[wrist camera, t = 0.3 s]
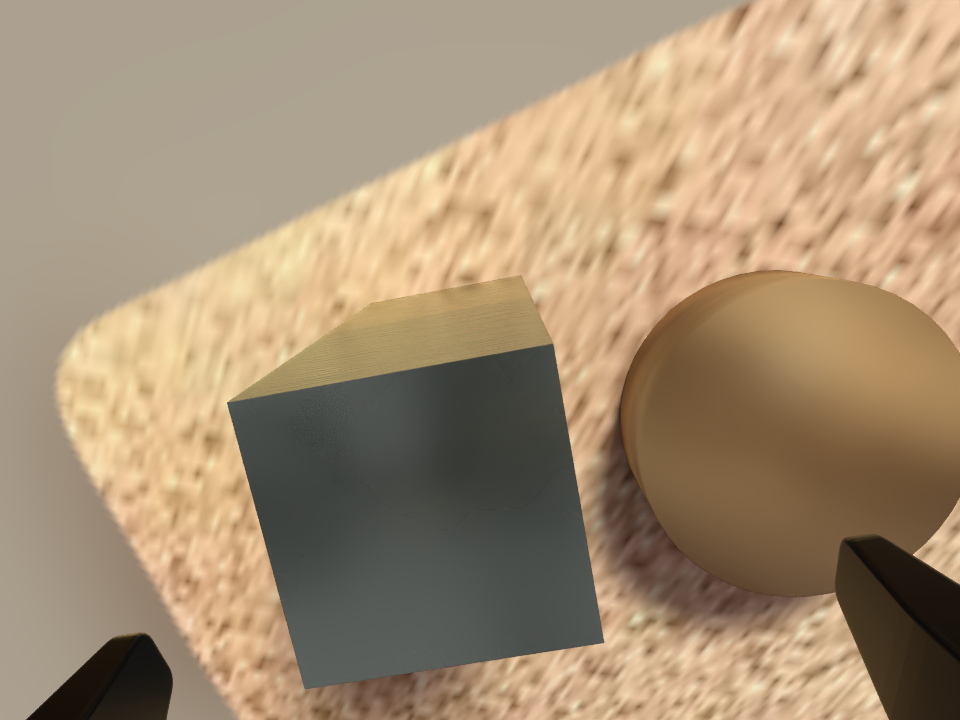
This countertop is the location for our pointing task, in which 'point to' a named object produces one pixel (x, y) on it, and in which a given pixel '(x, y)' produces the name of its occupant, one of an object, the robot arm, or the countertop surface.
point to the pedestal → (793, 426)
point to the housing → (421, 489)
